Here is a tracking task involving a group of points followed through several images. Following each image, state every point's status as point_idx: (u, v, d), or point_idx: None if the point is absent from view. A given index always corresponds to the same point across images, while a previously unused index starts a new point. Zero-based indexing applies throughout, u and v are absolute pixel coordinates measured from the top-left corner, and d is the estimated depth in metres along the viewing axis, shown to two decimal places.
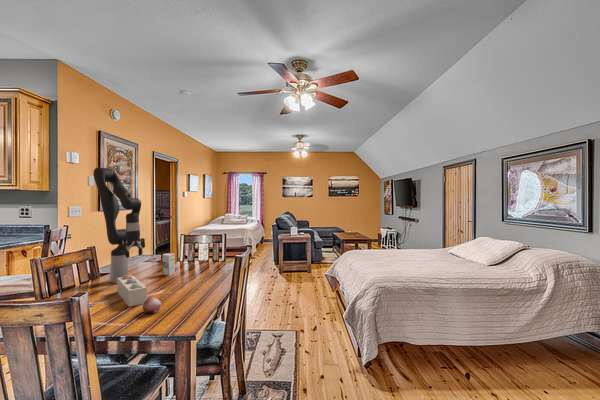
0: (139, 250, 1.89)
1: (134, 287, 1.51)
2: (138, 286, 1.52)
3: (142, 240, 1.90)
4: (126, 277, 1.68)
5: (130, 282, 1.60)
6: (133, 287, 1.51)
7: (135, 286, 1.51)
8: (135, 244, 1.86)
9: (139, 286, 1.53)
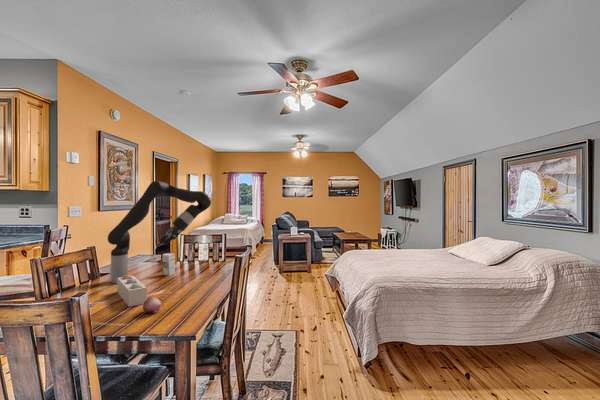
0: (163, 238, 1.66)
1: (134, 287, 1.51)
2: (138, 286, 1.52)
3: None
4: (126, 277, 1.68)
5: (130, 282, 1.60)
6: (133, 287, 1.51)
7: (135, 286, 1.51)
8: None
9: (139, 286, 1.53)
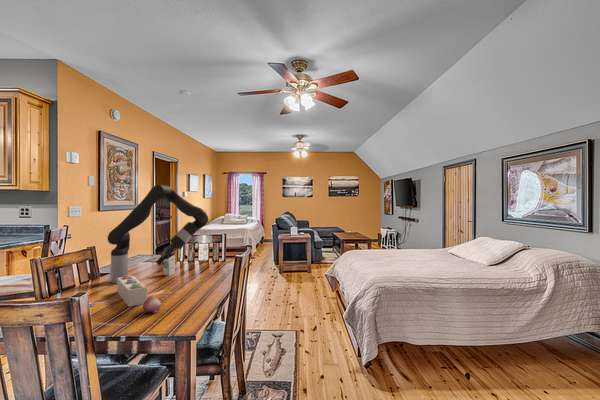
0: None
1: (134, 287, 1.51)
2: (138, 286, 1.52)
3: None
4: (126, 277, 1.68)
5: (130, 282, 1.60)
6: (133, 287, 1.51)
7: (135, 286, 1.51)
8: None
9: (139, 286, 1.53)
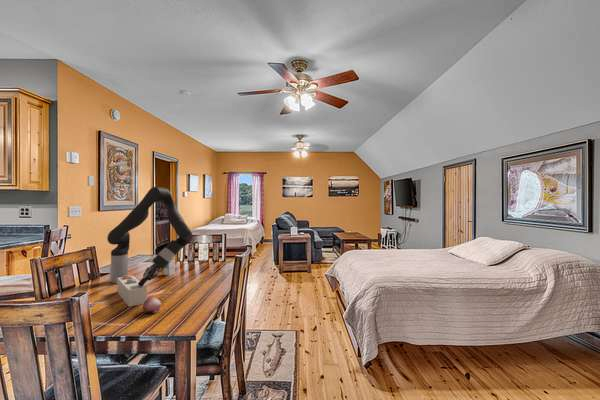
0: None
1: None
2: None
3: None
4: (126, 277, 1.68)
5: (130, 282, 1.60)
6: None
7: None
8: None
9: None
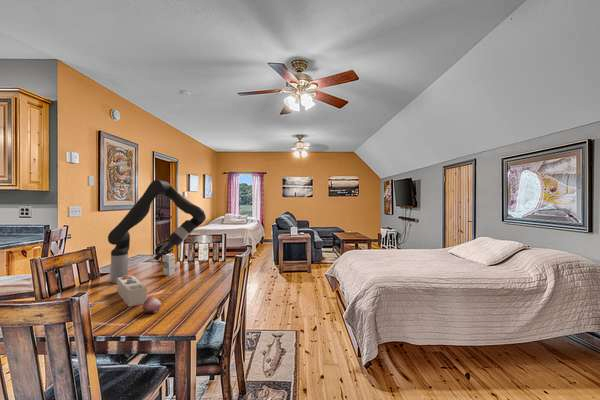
0: None
1: None
2: None
3: None
4: (126, 277, 1.68)
5: (130, 282, 1.60)
6: None
7: None
8: None
9: None
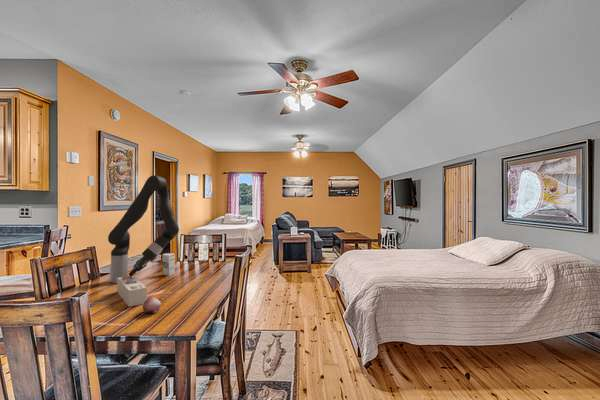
0: None
1: None
2: None
3: None
4: (126, 278, 1.68)
5: (130, 282, 1.60)
6: None
7: None
8: None
9: None
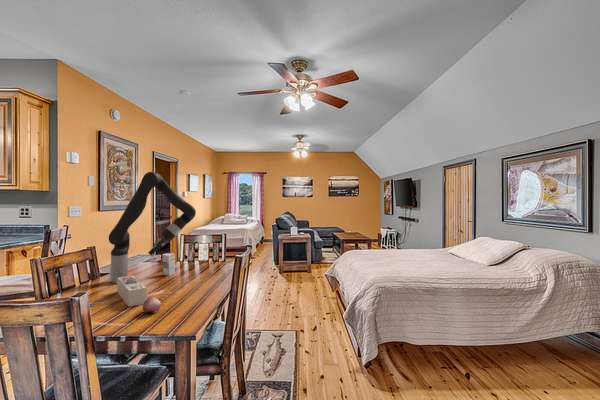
0: None
1: None
2: None
3: None
4: None
5: (130, 282, 1.60)
6: None
7: None
8: None
9: None
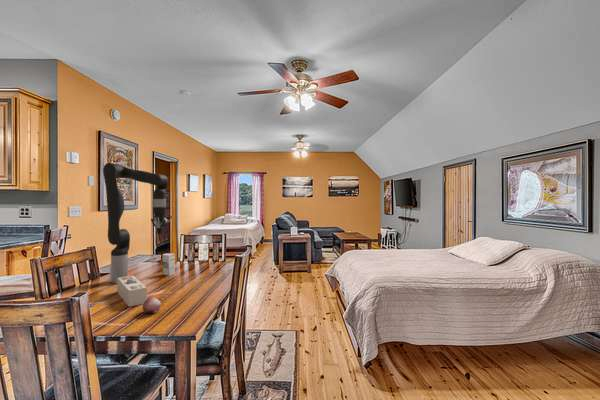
0: None
1: None
2: None
3: None
4: None
5: (130, 282, 1.60)
6: None
7: None
8: None
9: None
